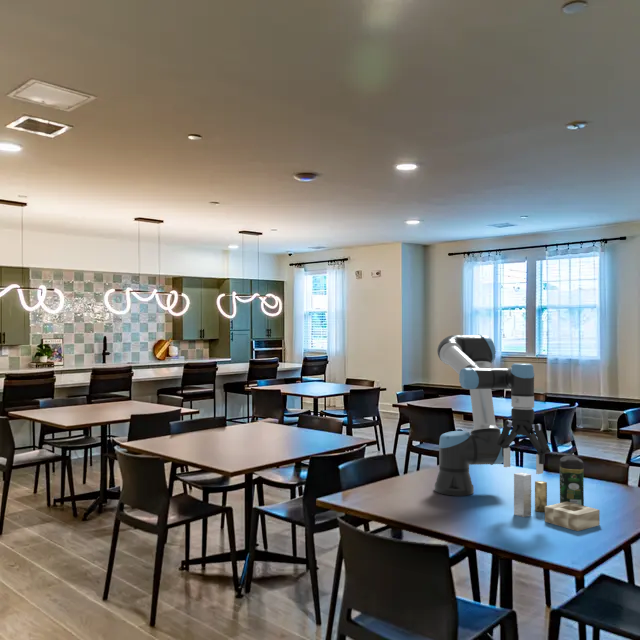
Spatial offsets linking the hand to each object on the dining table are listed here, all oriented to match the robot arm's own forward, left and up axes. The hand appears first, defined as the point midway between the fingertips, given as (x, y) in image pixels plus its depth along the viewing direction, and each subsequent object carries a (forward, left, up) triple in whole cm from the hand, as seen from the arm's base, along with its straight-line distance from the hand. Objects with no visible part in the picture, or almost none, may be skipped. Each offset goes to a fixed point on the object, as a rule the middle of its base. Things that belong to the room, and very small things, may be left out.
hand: (522, 470), depth 212 cm
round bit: (0, +10, -15) cm, 18 cm away
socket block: (+15, +6, -15) cm, 22 cm away
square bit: (0, 0, -15) cm, 15 cm away
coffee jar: (+4, +22, -16) cm, 27 cm away
